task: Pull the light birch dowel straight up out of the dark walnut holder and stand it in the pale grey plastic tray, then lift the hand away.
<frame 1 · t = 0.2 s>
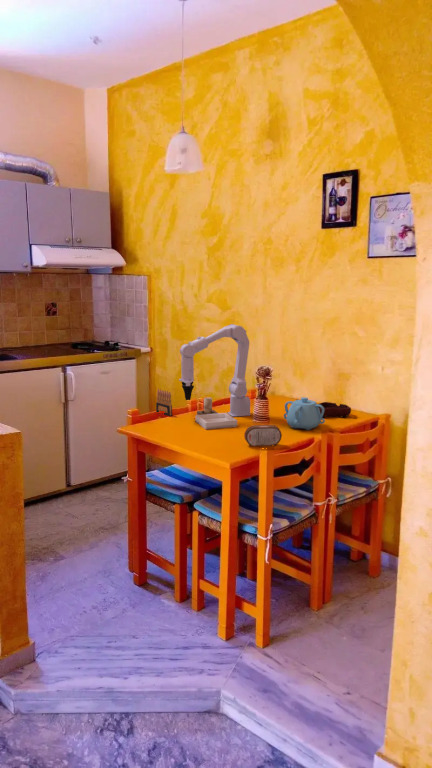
hand: (187, 398, 278), 10 cm above the table, tool pointing down, fingers open, 7 cm apart
tin: (263, 446, 237), on the table
decorative pot: (303, 427, 266), on the table
tray: (216, 423, 270), on the table
dowel: (207, 407, 283), in the holder
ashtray: (329, 415, 290), on the table
holder: (207, 416, 284), on the table
ammunition clip: (164, 414, 288), on the table
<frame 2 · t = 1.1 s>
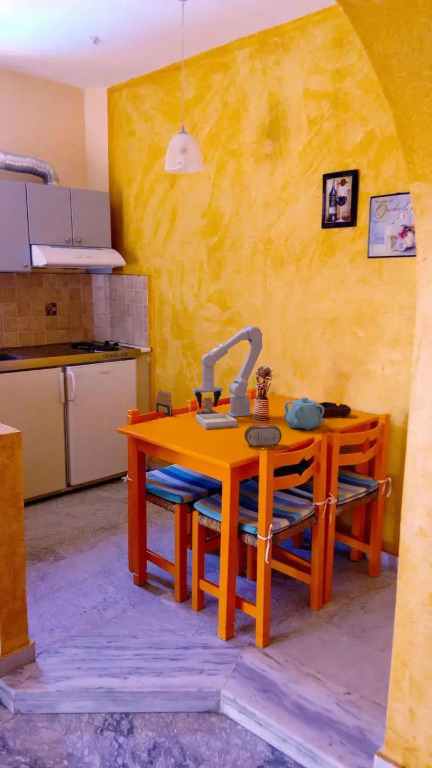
hand: (207, 407, 283), 5 cm above the table, tool pointing down, fingers open, 7 cm apart
nothing on the table moved.
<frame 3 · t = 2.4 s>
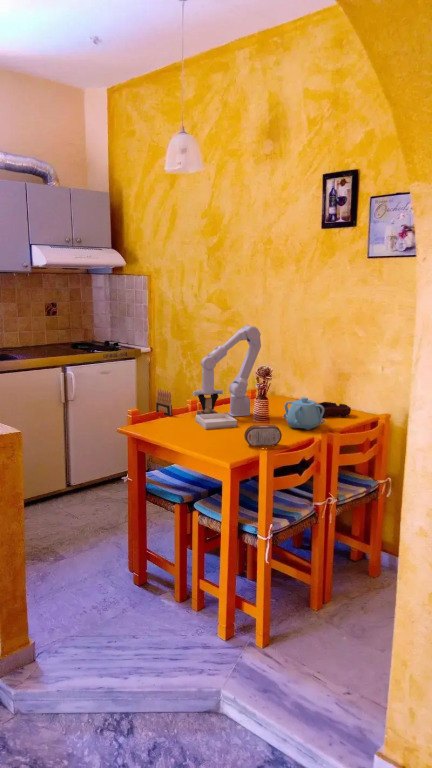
hand: (207, 409, 283), 3 cm above the table, tool pointing down, fingers closed on dowel, 4 cm apart
dowel: (207, 407, 283), in the holder, touching gripper
everything else where it was.
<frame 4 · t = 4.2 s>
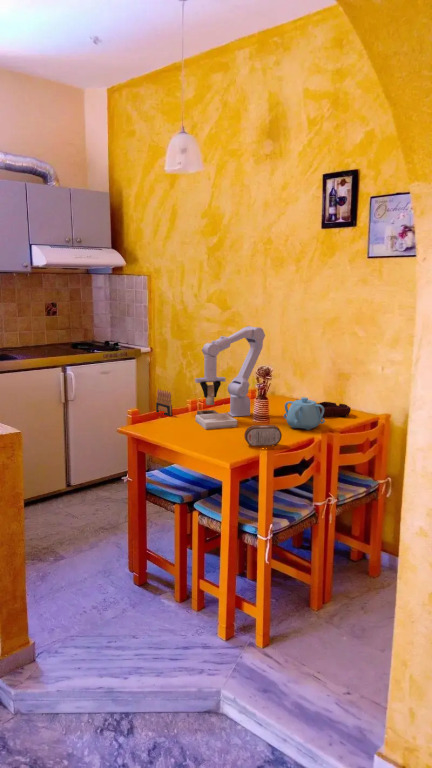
hand: (210, 397, 278), 10 cm above the table, tool pointing down, fingers closed on dowel, 4 cm apart
dowel: (210, 394, 278), point 12 cm above the table, touching gripper
everything else where it was.
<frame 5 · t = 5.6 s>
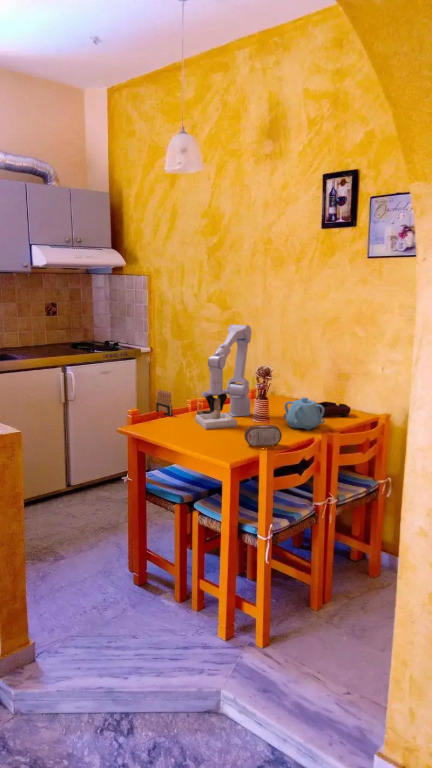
hand: (216, 410, 268), 6 cm above the table, tool pointing down, fingers closed on dowel, 4 cm apart
dowel: (215, 408, 268), point 7 cm above the table, touching gripper
everything else where it was.
when the fingers open (6 cm above the table, at t = 6.5 s): dowel drops 1 cm, resting on tray.
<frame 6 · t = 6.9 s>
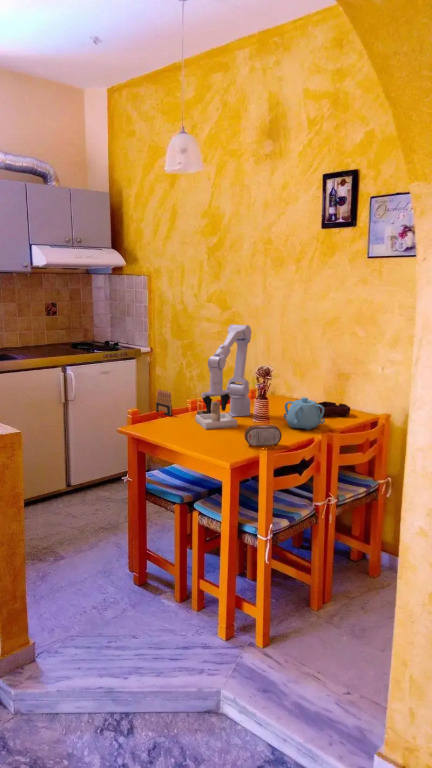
hand: (216, 411, 268), 6 cm above the table, tool pointing down, fingers open, 7 cm apart
dowel: (215, 412, 269), in the tray, point 6 cm above the table
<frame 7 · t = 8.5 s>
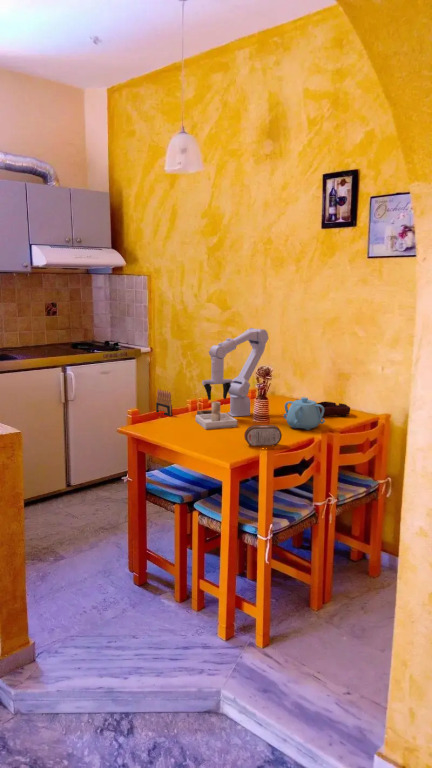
hand: (217, 399, 278), 9 cm above the table, tool pointing down, fingers open, 7 cm apart
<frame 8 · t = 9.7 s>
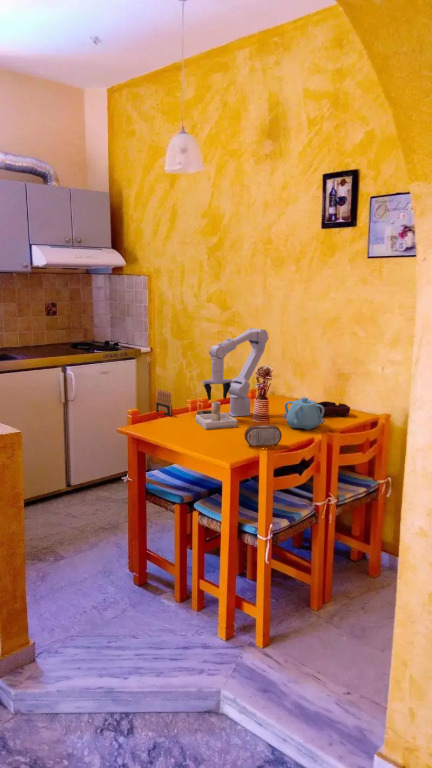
hand: (217, 399, 278), 9 cm above the table, tool pointing down, fingers open, 7 cm apart
at the end: dowel inside the target area on the tray (0.2 cm from its centre), point 5.5 cm above the tray's base; dowel tilted 0°; the gripper is holding nothing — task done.
